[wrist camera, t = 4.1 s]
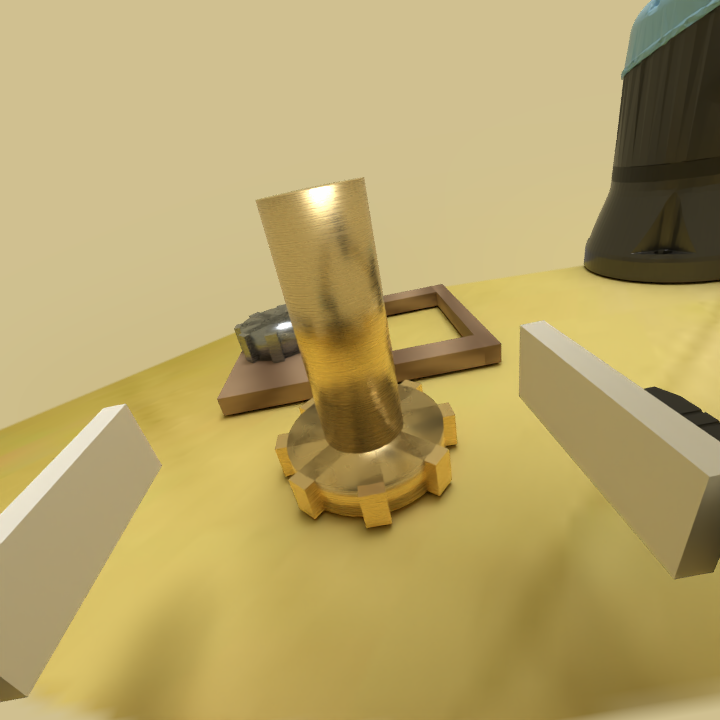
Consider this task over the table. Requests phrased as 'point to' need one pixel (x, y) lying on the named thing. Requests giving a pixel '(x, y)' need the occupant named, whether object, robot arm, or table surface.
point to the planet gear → (349, 365)
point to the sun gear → (268, 336)
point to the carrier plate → (475, 348)
